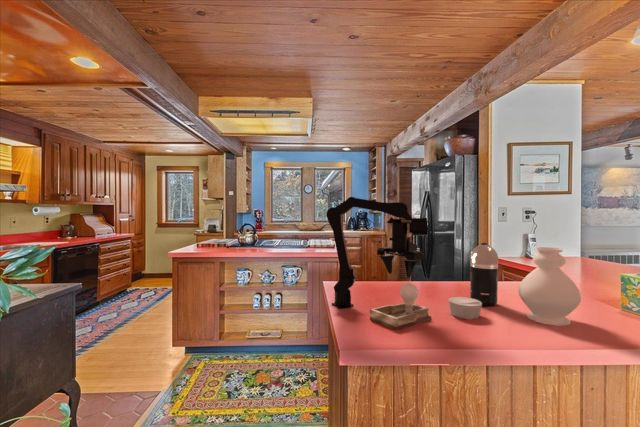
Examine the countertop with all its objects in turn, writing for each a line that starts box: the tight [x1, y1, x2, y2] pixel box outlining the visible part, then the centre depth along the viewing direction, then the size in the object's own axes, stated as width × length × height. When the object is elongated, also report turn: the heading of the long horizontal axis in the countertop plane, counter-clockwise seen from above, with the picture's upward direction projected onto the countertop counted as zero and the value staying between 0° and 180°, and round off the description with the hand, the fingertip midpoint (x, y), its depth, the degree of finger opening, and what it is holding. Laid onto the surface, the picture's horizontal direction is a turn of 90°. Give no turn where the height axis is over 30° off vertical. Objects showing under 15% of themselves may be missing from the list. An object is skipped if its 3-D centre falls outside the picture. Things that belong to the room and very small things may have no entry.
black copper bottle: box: [469, 242, 499, 307], centre depth 132 cm, size 10×10×25 cm
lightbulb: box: [399, 282, 419, 314], centre depth 115 cm, size 6×6×11 cm
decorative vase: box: [518, 246, 582, 327], centre depth 113 cm, size 18×18×25 cm
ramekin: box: [448, 296, 483, 320], centre depth 117 cm, size 11×11×5 cm
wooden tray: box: [369, 302, 432, 331], centre depth 113 cm, size 12×18×4 cm, turn 124°
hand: (399, 275), depth 124 cm, fingers open, 9 cm apart
